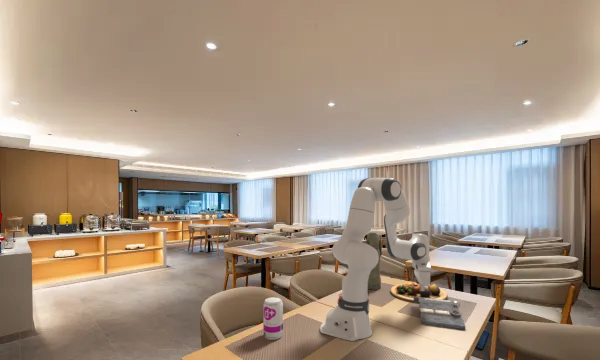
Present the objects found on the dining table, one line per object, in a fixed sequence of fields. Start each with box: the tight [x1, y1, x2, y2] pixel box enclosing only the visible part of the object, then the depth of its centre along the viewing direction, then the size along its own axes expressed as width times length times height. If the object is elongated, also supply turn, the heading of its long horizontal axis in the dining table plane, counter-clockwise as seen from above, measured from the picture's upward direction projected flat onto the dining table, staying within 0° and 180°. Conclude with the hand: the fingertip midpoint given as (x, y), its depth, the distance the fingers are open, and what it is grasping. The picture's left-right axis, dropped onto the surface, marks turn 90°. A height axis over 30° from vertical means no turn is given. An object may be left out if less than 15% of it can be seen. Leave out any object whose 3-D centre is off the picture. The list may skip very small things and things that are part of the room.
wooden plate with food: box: [389, 278, 449, 304], centre depth 176 cm, size 32×32×8 cm
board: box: [419, 302, 466, 331], centre depth 144 cm, size 18×26×5 cm
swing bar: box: [414, 296, 461, 308], centre depth 146 cm, size 21×4×2 cm, turn 69°
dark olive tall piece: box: [363, 232, 383, 291], centre depth 190 cm, size 9×12×35 cm
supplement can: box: [262, 296, 284, 341], centre depth 125 cm, size 8×8×15 cm
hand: (422, 290), depth 155 cm, fingers closed
